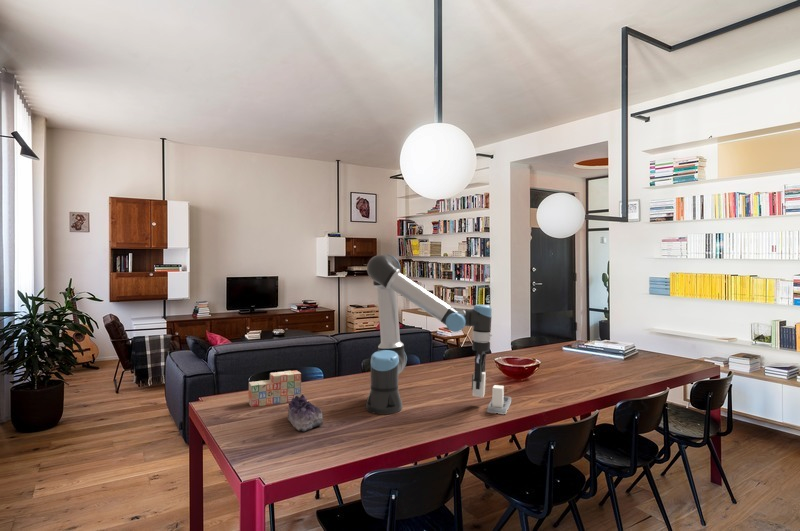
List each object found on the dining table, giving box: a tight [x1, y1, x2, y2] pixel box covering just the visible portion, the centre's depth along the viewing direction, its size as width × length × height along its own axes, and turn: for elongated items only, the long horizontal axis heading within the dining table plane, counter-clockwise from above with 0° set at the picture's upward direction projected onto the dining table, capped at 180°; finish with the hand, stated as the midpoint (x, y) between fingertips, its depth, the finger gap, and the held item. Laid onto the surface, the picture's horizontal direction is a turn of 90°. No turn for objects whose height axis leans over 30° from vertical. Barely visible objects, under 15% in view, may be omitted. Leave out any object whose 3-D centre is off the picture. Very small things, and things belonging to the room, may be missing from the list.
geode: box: [287, 394, 324, 432], centre depth 181 cm, size 20×12×10 cm, turn 34°
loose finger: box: [471, 371, 487, 398], centre depth 203 cm, size 4×5×10 cm
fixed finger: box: [491, 384, 505, 408], centre depth 198 cm, size 4×5×10 cm
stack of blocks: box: [248, 370, 302, 408], centre depth 205 cm, size 21×6×12 cm, turn 118°
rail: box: [486, 396, 512, 415], centre depth 202 cm, size 18×8×2 cm, turn 159°
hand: (478, 394), depth 203 cm, fingers closed on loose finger, 4 cm apart
